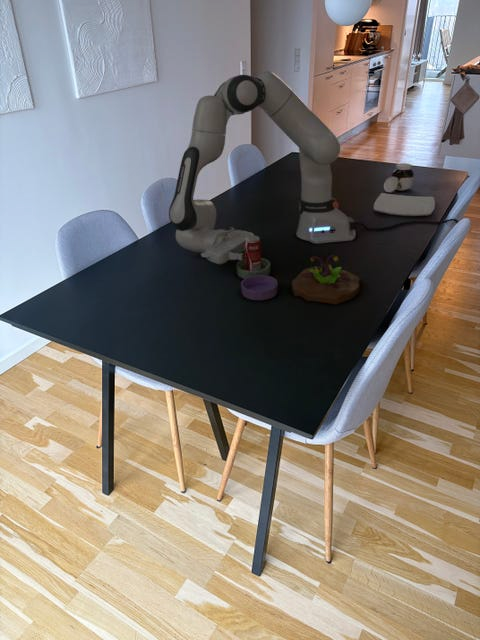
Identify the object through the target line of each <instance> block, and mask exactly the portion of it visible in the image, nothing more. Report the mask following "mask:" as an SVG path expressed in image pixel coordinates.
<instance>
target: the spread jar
mask: <svg viewBox="0 0 480 640" xmlns="http://www.w3.org/2000/svg"><path fill="white" fill-rule="evenodd" d="M412 167H413V165H412V164H410V163H405V162H404V163H402V162H401V163H397V164H396V166H395V169H394V170H393V171H392V173H391V175H390V176H389V177H388V178H386V179H385V181H384V184H383V189H384V191H385V192H386V193H388V194H391V193H394V192H396V193H406V192H409V191H410V190H411V189H412V187H413V185H414V181H415V173H414V171H413V170H412Z"/></svg>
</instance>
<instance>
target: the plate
mask: <svg viewBox="0 0 480 640" xmlns="http://www.w3.org/2000/svg"><path fill="white" fill-rule="evenodd" d="M374 201H375V202H374V204H373V211H375V212H376V213H382V214H387V215H391V216H398V217H428V216H430V215H432V213H433V212H434V211H435V208H436V202H435V197H434V196H415V195H402V194H391V193H384V192H381V193H380V194H379V195H378V197H377V198H376V200H374Z"/></svg>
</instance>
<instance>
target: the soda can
mask: <svg viewBox="0 0 480 640" xmlns="http://www.w3.org/2000/svg"><path fill="white" fill-rule="evenodd" d="M261 242H262V241H261V239H260V237H259V236H258V235H254V236H248V237H246V238H245V242H244V247H245V250H244V258H245V270H247V271H258V270H261V258H262V243H261Z"/></svg>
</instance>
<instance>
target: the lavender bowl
mask: <svg viewBox="0 0 480 640" xmlns="http://www.w3.org/2000/svg"><path fill="white" fill-rule="evenodd" d="M240 292H241V295H242V296H243V297H244V298H246V299H247V300H250V301H251V300H252V301H265V300H269V299H272V298H274V297H275V296H276V295H277V294H278V280H277V279H276V278H274V277H273V276H270V275H268V276H266V275H254V276H250V277H247V278H245V279H242V281H241V282H240Z"/></svg>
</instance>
